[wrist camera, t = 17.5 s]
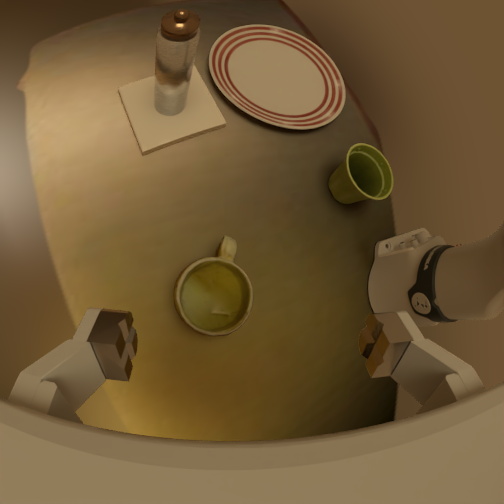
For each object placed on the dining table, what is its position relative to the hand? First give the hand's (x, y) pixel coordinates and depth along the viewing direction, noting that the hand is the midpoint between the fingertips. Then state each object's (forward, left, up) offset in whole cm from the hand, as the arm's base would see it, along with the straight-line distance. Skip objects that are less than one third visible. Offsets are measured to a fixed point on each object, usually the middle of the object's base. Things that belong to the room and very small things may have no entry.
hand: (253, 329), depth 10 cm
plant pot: (-32, -5, -32) cm, 46 cm away
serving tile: (-10, -29, -32) cm, 45 cm away
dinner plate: (-32, -30, -32) cm, 55 cm away
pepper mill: (-10, -29, -31) cm, 44 cm away
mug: (-4, 0, -32) cm, 32 cm away
